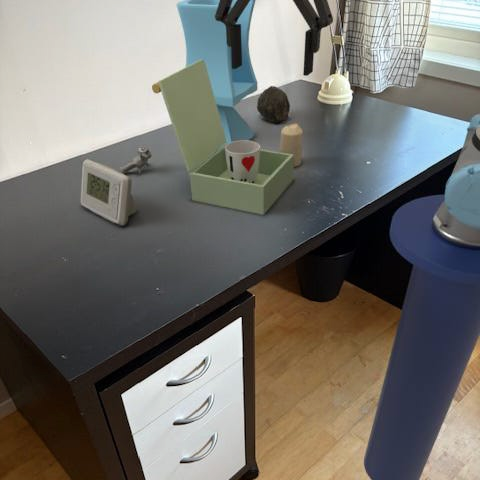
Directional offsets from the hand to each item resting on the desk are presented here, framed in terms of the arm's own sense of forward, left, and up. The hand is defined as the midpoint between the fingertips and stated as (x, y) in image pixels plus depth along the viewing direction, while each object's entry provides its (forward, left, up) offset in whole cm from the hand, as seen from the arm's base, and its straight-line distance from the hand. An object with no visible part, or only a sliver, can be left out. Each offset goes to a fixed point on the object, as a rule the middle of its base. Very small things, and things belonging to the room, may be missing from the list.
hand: (271, 70), depth 84 cm
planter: (+31, -38, -31) cm, 58 cm away
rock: (+24, -61, -31) cm, 72 cm away
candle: (+7, -31, -31) cm, 44 cm away
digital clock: (+36, +10, -31) cm, 48 cm away
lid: (+23, -12, -14) cm, 30 cm away
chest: (+12, -12, -31) cm, 35 cm away
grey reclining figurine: (+42, -11, -31) cm, 53 cm away
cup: (+12, -12, -30) cm, 35 cm away
